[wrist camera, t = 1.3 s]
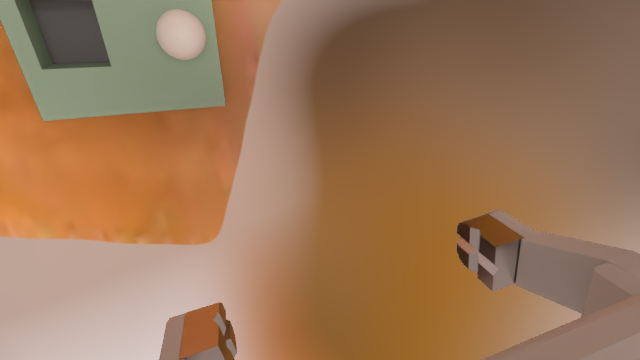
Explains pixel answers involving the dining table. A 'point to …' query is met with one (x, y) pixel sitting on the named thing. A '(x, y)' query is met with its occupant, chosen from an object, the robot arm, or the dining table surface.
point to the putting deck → (109, 57)
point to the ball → (180, 34)
